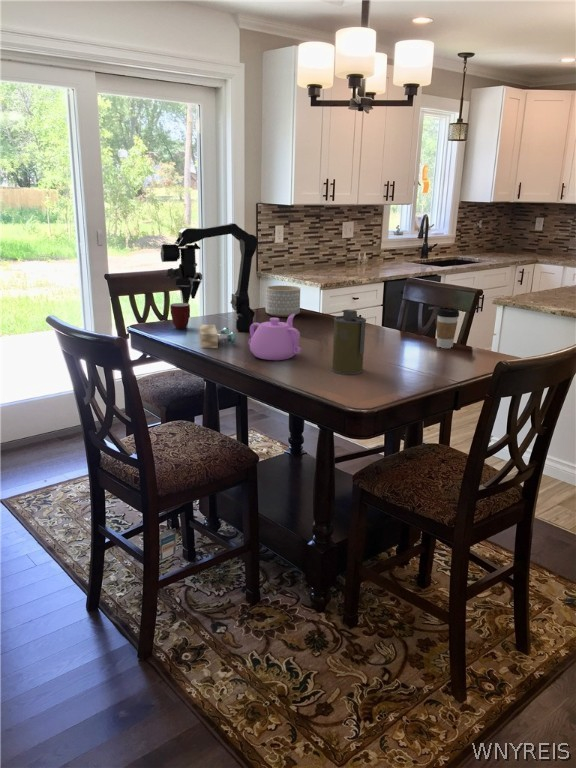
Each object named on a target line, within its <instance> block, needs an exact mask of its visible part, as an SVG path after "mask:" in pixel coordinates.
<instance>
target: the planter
mask: <svg viewBox="0 0 576 768" xmlns="http://www.w3.org/2000/svg"><path fill="white" fill-rule="evenodd" d="M300 309H301V287H299V286H295V285H269V286H266V287H265V313H267V314H268V315H269V316H271V317H275V318H288V317H289V316H290V315H291V314H295V316H297V315H298V314H300V312H301V311H300Z"/></svg>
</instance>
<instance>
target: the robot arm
mask: <svg viewBox="0 0 576 768" xmlns="http://www.w3.org/2000/svg"><path fill="white" fill-rule="evenodd" d="M226 235H232V236H233V237H234V238H235V239H236V240H237V241H239V251H240V261H239V262H240V263H239V272H238V280H237V289H236V291H235V293H232V294H231V301H230V304H231V308H232V309H233V311H235V313H236V315H237V318H235V328H236V330H237V332H238V333H239V332H241V333H244V332H245V333H246V332H247V333H250V326H251V325H252V324H253V323H254V317H255V314H256V312H255V311H254V310H253V309H252V308H251V307H250V297H249V285H250V277H251V270H252V261H253V257H254V255H255V253H256V251H257V248H258V244H259V239H258V238H257V237H256V235H254V234H250V233H248V232H247V231H246V230H244V229H243V228H241V227H240V226H239V225H238V224H237V223H233V222H229V223H227V224H221V225H220V224H219V225H214V226H209V227H208V226H207V227H202V228H201V227H198V228H197V227H183V228H182V227H181V228H180V230H179V231H178V237H177V238H176V240H175V241H174V242H173V243H169V244H168V243H162V244H161V248H160V259H161V262H162V263H171V262H178V261H179V260H180V264H179V265H178V268H175V269H174V268H172V267H171V268H168V269H167V272H166V277H168V279H169V281H170V280H171V281H172V280H173V279H175V278H176V279H175V280H174V286H176V288H178V289H179V290H180V291H181V293H182V296H183V300H184V303H187V304H189V301H190V297H191V299H195V298H196V296H197V293H198V291H199V287H200V285H201V284H202V280H203V274H202V273H201V272H197V266H198V262H197V259H196V250H201V246H199V245H198V244H197V243H196V242H200V241H201V240H204V239H208V238H215V237H219V236H226Z"/></svg>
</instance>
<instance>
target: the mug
mask: <svg viewBox="0 0 576 768" xmlns="http://www.w3.org/2000/svg"><path fill="white" fill-rule="evenodd" d="M169 305H170V310H169V311H170V315H171V320H172V323H173V325H174V327H175V329H178V330H183V329H186V327H187V326H188V323H189V319H190V313H191V305H190V303H186V302H176V303H171V304H169Z"/></svg>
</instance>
